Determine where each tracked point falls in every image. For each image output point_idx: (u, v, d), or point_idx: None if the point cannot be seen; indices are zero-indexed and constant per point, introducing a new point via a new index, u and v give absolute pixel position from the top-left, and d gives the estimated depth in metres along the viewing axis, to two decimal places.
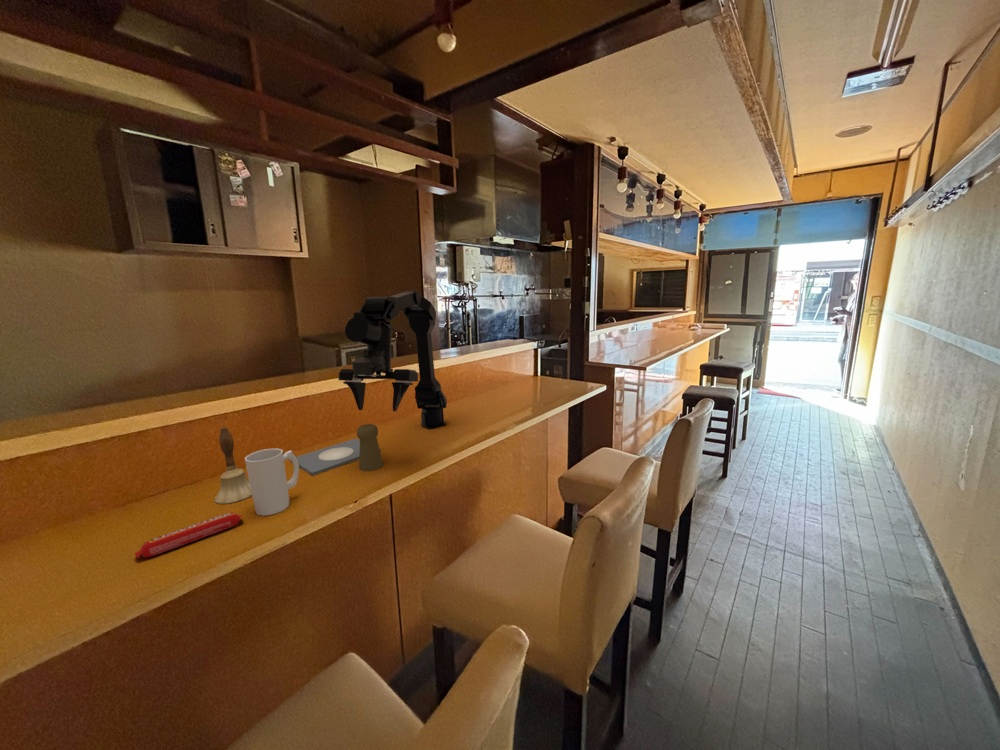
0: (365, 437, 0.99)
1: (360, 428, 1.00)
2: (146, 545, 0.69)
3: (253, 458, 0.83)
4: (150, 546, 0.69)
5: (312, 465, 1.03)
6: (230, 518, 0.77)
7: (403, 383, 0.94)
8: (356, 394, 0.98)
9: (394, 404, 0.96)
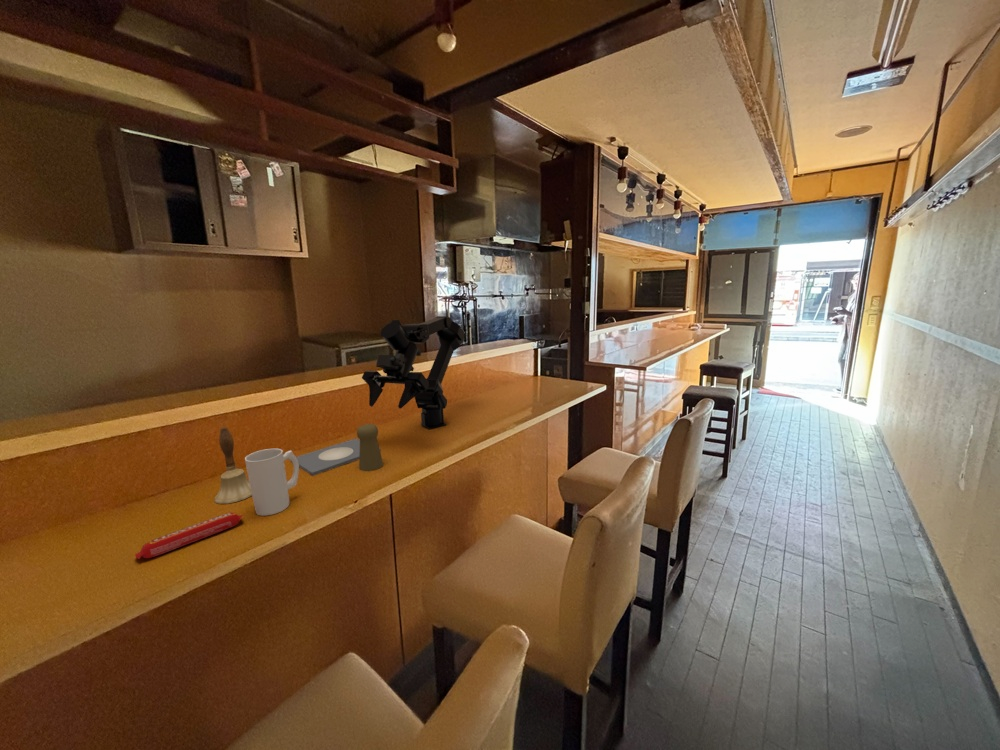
0: (365, 437, 0.99)
1: (360, 428, 1.00)
2: (147, 546, 0.68)
3: (253, 458, 0.83)
4: (151, 547, 0.69)
5: (312, 465, 1.03)
6: (230, 518, 0.77)
7: (414, 382, 1.07)
8: (372, 391, 1.11)
9: (401, 400, 1.07)
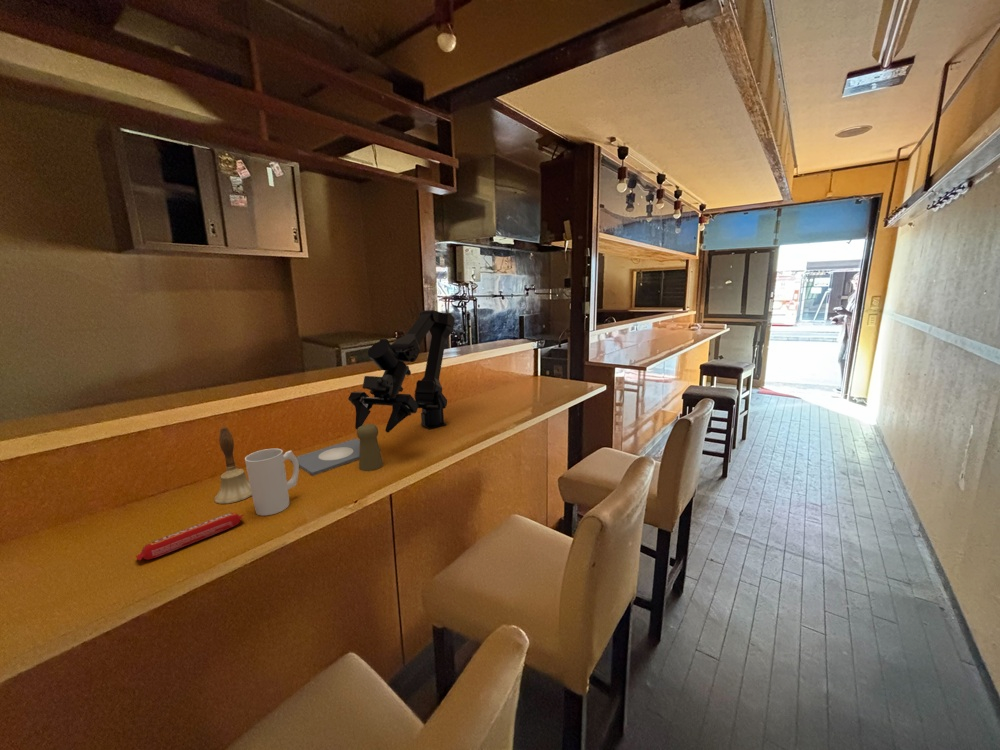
0: (365, 437, 0.99)
1: (360, 428, 1.00)
2: (148, 547, 0.68)
3: (253, 458, 0.83)
4: (153, 548, 0.68)
5: (312, 465, 1.03)
6: (231, 518, 0.77)
7: (402, 404, 1.02)
8: (358, 413, 1.06)
9: (388, 424, 1.02)
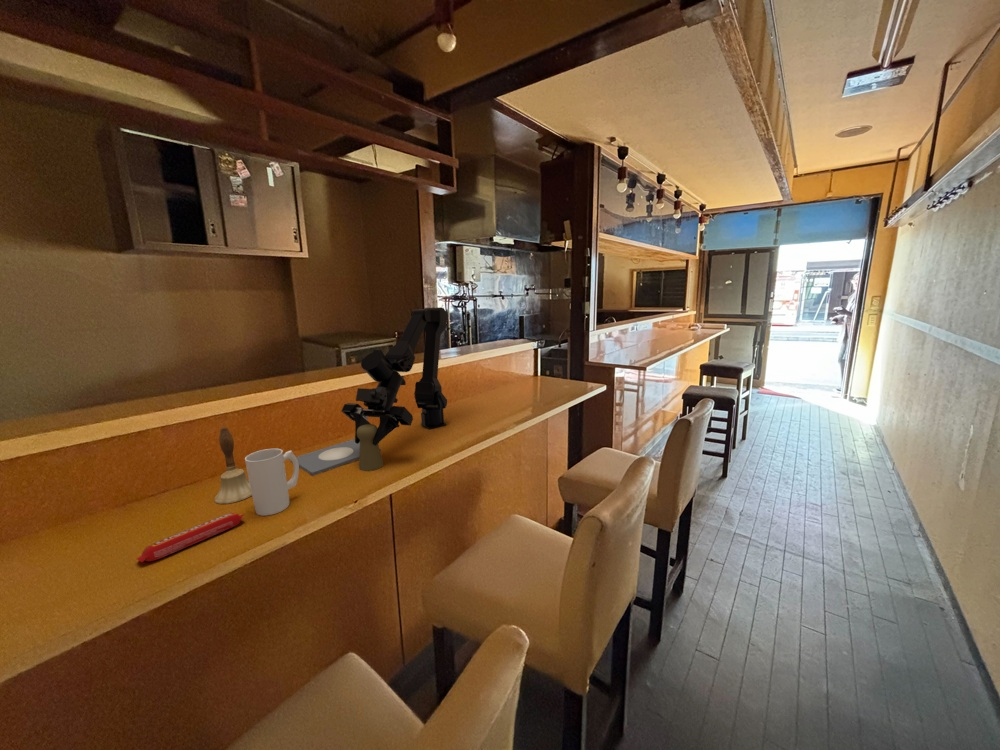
0: (365, 437, 0.99)
1: (360, 428, 1.00)
2: (150, 549, 0.67)
3: (253, 458, 0.83)
4: (155, 550, 0.68)
5: (312, 465, 1.03)
6: (232, 518, 0.77)
7: (389, 417, 1.00)
8: (358, 426, 1.03)
9: (375, 437, 1.00)
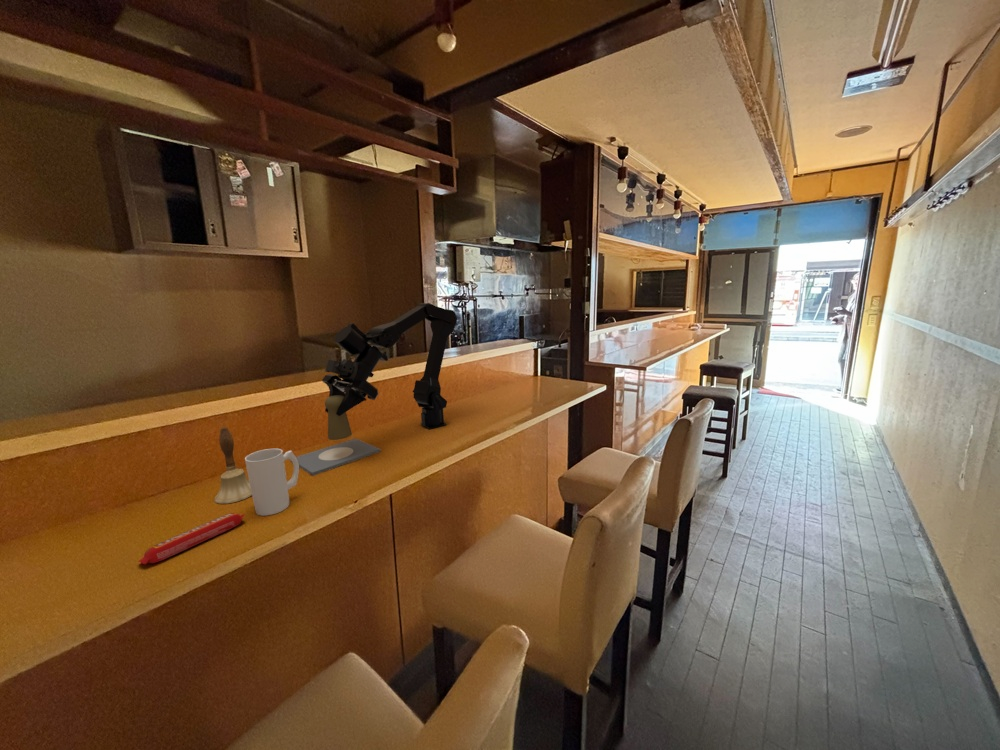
0: (329, 407, 1.03)
1: (327, 398, 1.04)
2: (153, 551, 0.67)
3: (253, 458, 0.83)
4: (158, 551, 0.67)
5: (312, 465, 1.03)
6: (233, 518, 0.77)
7: (352, 389, 1.02)
8: None
9: (339, 408, 1.03)
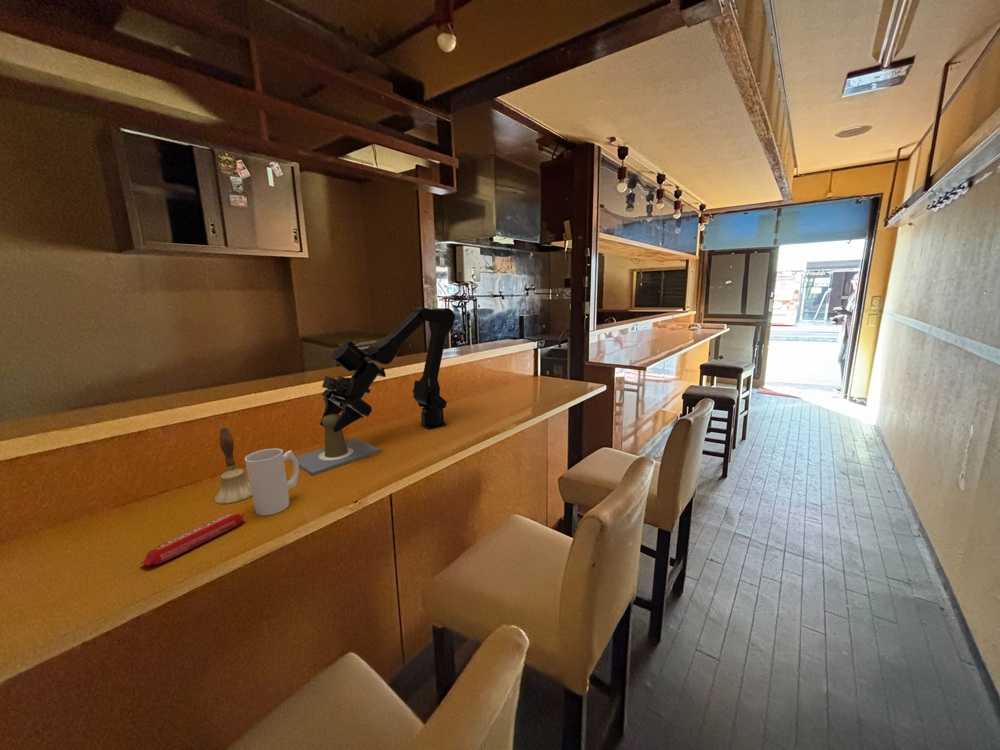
0: (325, 426, 1.06)
1: (324, 417, 1.07)
2: (156, 552, 0.67)
3: (253, 458, 0.83)
4: (161, 552, 0.67)
5: (312, 465, 1.03)
6: (234, 517, 0.77)
7: (348, 407, 1.04)
8: (325, 411, 1.11)
9: (336, 424, 1.05)
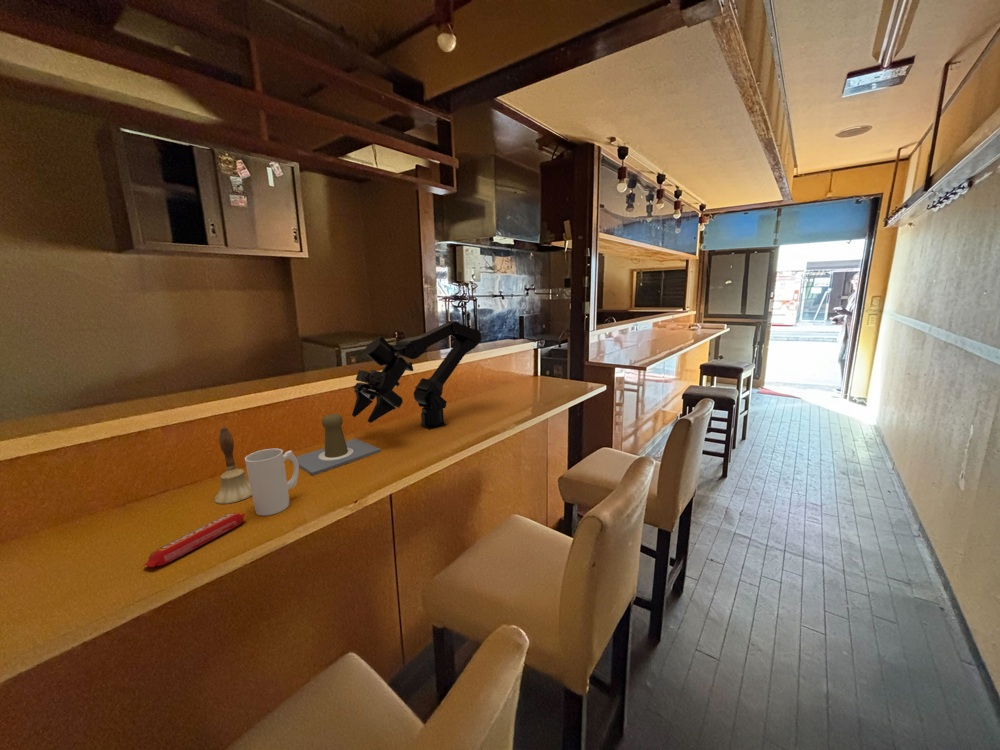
0: (325, 426, 1.06)
1: (324, 417, 1.07)
2: (159, 553, 0.66)
3: (253, 458, 0.83)
4: (165, 553, 0.67)
5: (312, 465, 1.03)
6: (235, 517, 0.77)
7: (382, 399, 1.10)
8: (357, 402, 1.19)
9: (370, 415, 1.11)
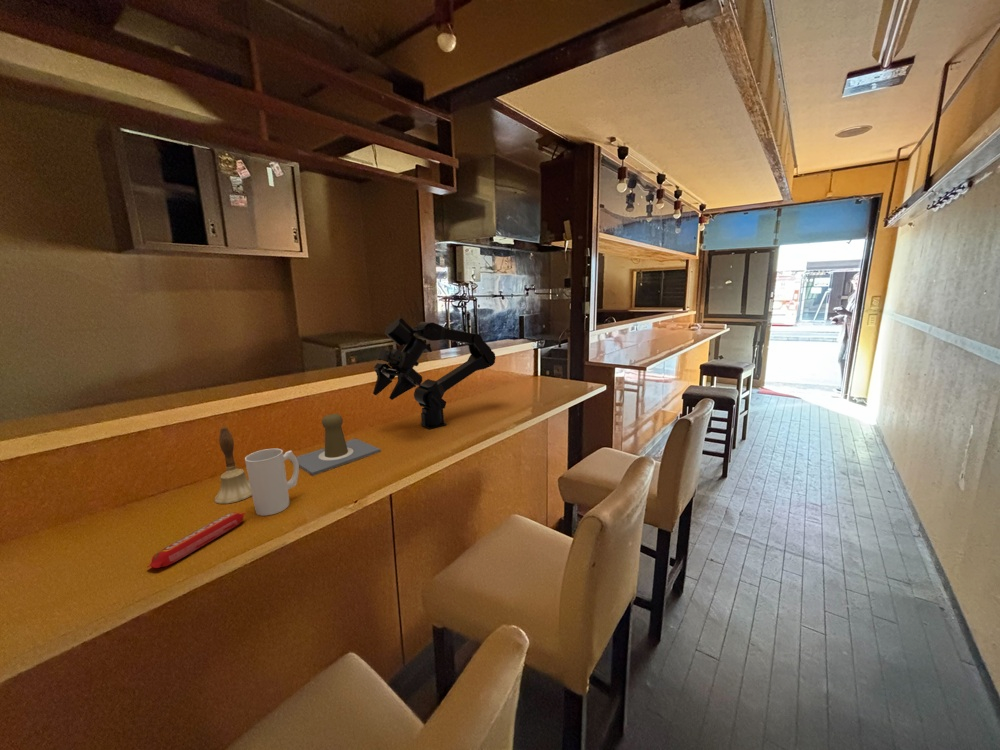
0: (325, 426, 1.06)
1: (324, 417, 1.07)
2: (164, 554, 0.66)
3: (253, 458, 0.83)
4: (169, 554, 0.66)
5: (312, 465, 1.03)
6: (235, 517, 0.77)
7: (403, 376, 1.15)
8: (377, 381, 1.23)
9: (392, 392, 1.16)
